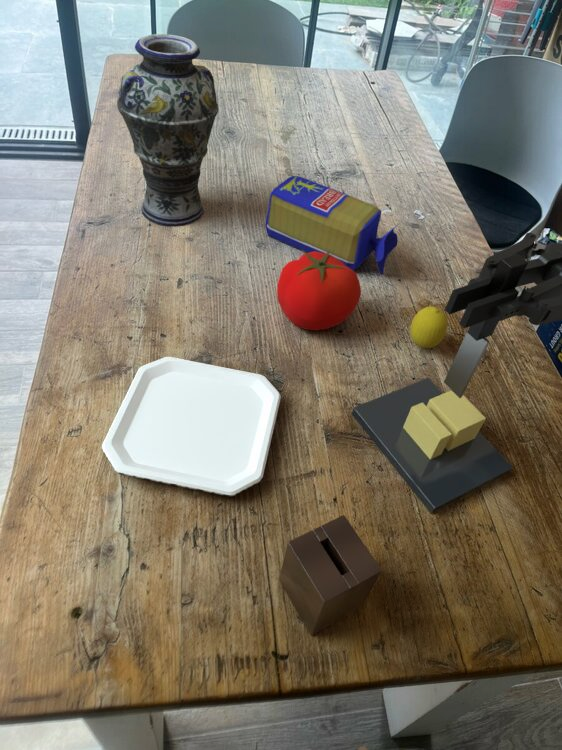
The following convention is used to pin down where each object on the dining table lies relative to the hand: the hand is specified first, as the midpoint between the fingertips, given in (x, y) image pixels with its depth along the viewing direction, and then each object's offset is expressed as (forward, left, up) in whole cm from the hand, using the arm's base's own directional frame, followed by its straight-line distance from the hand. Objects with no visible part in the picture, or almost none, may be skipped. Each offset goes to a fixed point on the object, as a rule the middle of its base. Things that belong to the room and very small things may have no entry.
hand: (458, 309), depth 59 cm
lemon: (+16, -18, -27) cm, 37 cm away
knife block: (-11, +19, -27) cm, 34 cm away
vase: (+68, +4, -27) cm, 74 cm away
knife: (0, -6, -15) cm, 16 cm away
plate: (+16, +22, -27) cm, 38 cm away
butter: (0, -9, -25) cm, 27 cm away
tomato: (+29, -5, -27) cm, 40 cm away
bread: (+45, -18, -27) cm, 56 cm away
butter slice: (0, -5, -25) cm, 26 cm away
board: (0, -6, -27) cm, 28 cm away
